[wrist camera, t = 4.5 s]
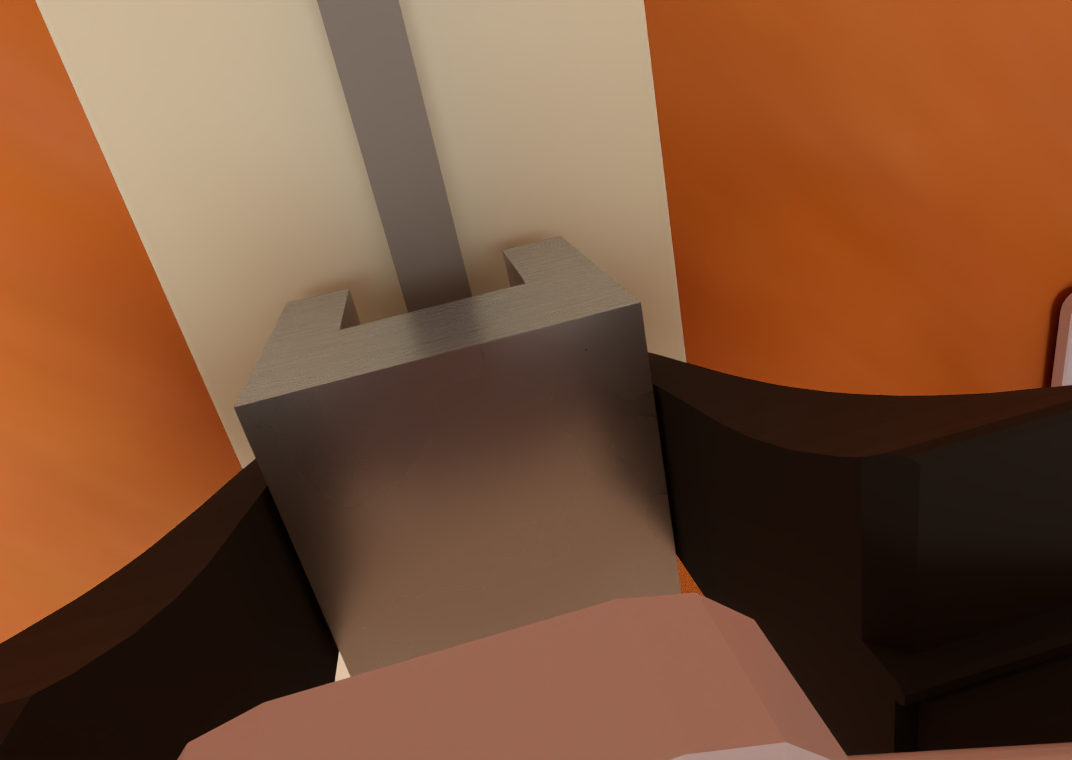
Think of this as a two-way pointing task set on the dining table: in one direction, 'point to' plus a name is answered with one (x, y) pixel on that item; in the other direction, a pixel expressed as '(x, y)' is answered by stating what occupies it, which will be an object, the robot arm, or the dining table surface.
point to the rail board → (370, 154)
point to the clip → (466, 457)
